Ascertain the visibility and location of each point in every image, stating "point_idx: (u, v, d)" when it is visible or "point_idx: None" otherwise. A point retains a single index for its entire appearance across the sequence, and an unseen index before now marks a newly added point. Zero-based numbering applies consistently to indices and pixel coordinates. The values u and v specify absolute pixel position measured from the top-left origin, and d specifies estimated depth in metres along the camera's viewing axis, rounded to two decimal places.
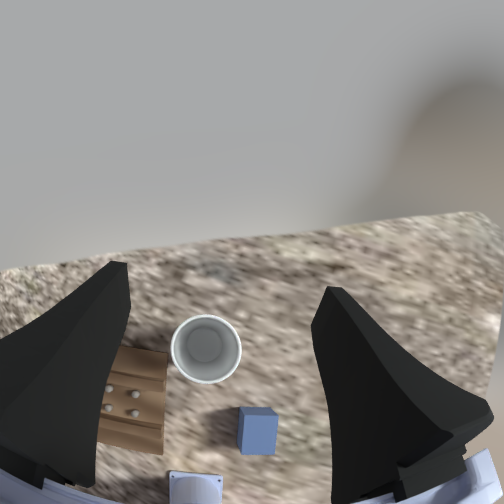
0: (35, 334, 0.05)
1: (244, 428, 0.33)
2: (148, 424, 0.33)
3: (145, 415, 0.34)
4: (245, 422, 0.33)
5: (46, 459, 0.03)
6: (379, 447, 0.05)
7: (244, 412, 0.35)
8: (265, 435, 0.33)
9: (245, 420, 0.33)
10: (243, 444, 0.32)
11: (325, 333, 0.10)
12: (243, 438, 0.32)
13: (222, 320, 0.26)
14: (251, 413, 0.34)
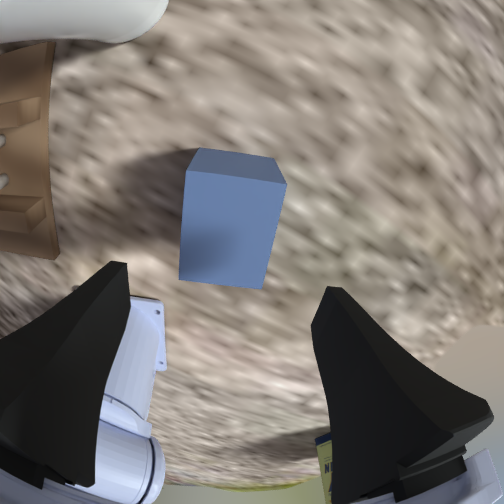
0: (35, 334, 0.05)
1: (185, 210, 0.13)
2: (16, 201, 0.15)
3: (17, 182, 0.15)
4: (188, 193, 0.13)
5: (46, 459, 0.03)
6: (379, 447, 0.05)
7: (194, 162, 0.13)
8: (243, 238, 0.14)
9: (188, 186, 0.13)
10: (183, 255, 0.14)
11: (325, 333, 0.10)
12: (182, 238, 0.14)
13: None
14: (212, 166, 0.13)
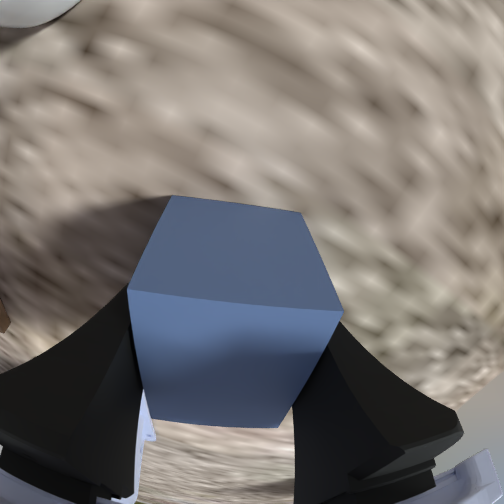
0: (80, 347, 0.05)
1: (140, 350, 0.06)
2: None
3: None
4: (139, 326, 0.06)
5: (101, 478, 0.04)
6: (333, 455, 0.05)
7: (152, 250, 0.07)
8: (251, 386, 0.07)
9: (137, 317, 0.06)
10: (150, 398, 0.08)
11: None
12: (146, 381, 0.07)
13: None
14: (185, 265, 0.06)
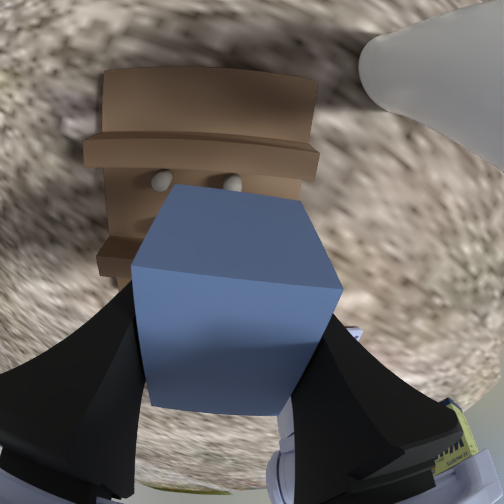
0: (80, 347, 0.05)
1: (142, 330, 0.07)
2: None
3: None
4: (142, 305, 0.06)
5: (101, 478, 0.04)
6: (333, 455, 0.05)
7: (156, 232, 0.07)
8: (252, 368, 0.07)
9: (140, 295, 0.06)
10: (151, 383, 0.08)
11: None
12: (147, 365, 0.07)
13: None
14: (188, 245, 0.07)
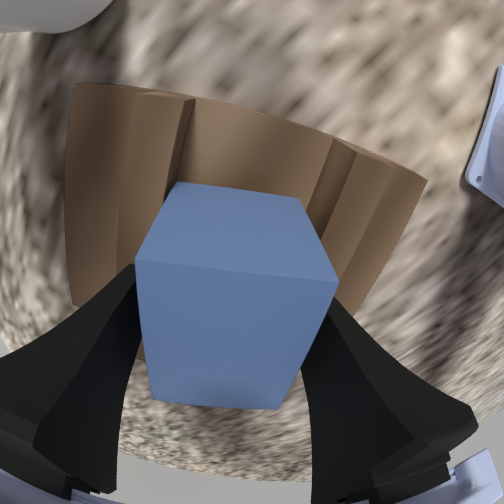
0: (59, 341, 0.05)
1: (145, 323, 0.07)
2: (323, 190, 0.11)
3: (288, 189, 0.12)
4: (145, 297, 0.06)
5: (76, 470, 0.04)
6: (355, 452, 0.05)
7: (158, 227, 0.07)
8: (252, 361, 0.08)
9: (143, 288, 0.06)
10: (153, 376, 0.08)
11: None
12: (149, 358, 0.08)
13: None
14: (190, 240, 0.07)
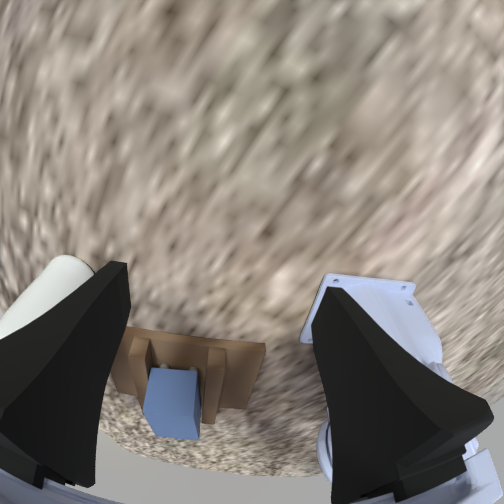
0: (35, 334, 0.05)
1: (148, 420, 0.22)
2: None
3: (196, 361, 0.27)
4: (147, 416, 0.22)
5: (46, 459, 0.03)
6: (379, 447, 0.05)
7: (147, 397, 0.22)
8: (180, 428, 0.23)
9: (146, 415, 0.21)
10: (154, 430, 0.23)
11: (325, 333, 0.10)
12: (151, 426, 0.23)
13: None
14: (155, 402, 0.22)
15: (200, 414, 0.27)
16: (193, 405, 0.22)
